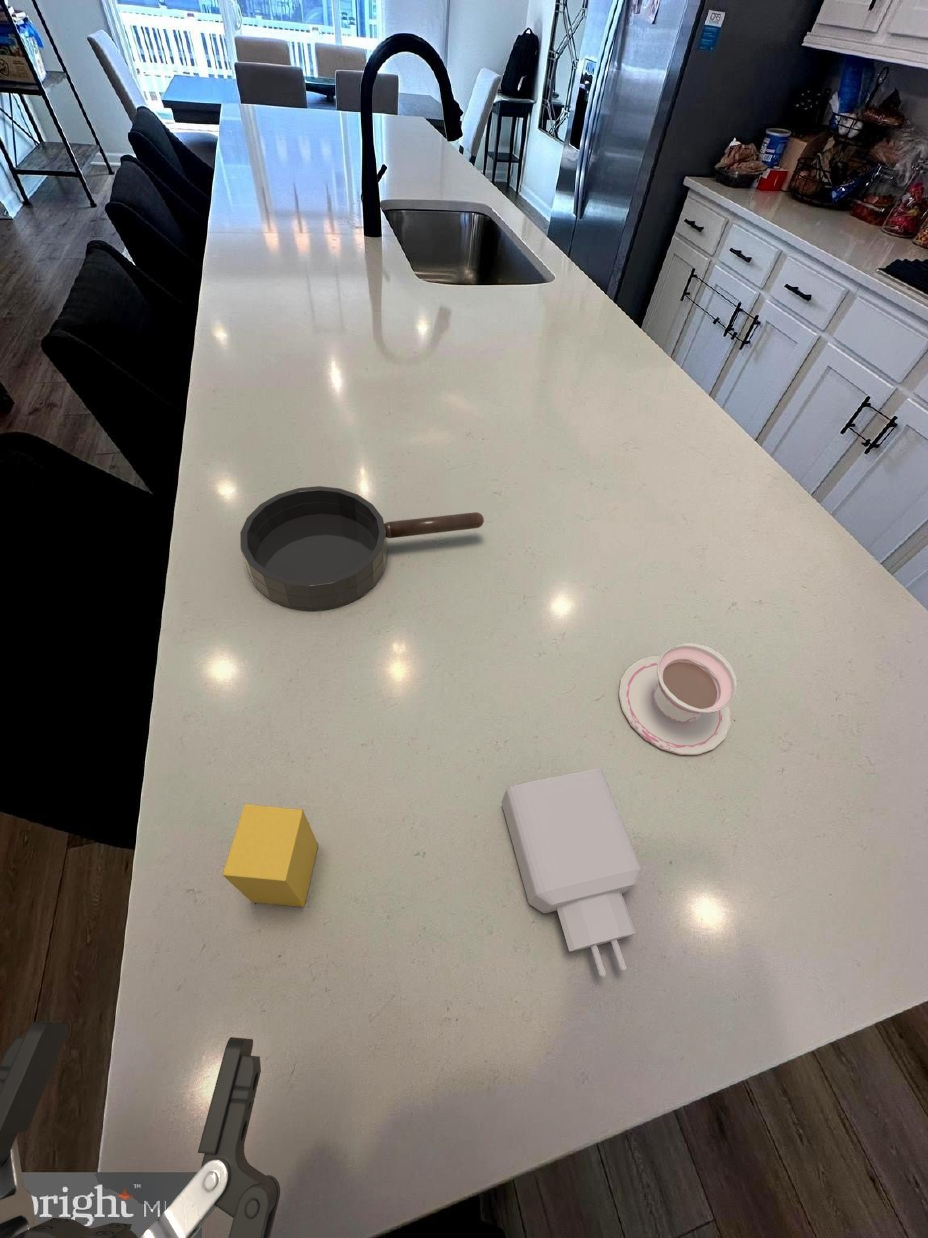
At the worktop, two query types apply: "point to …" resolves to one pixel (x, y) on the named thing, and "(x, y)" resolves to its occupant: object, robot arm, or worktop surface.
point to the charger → (575, 857)
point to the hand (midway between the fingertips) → (147, 1030)
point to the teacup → (680, 698)
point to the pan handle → (433, 525)
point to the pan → (314, 548)
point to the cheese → (272, 855)
